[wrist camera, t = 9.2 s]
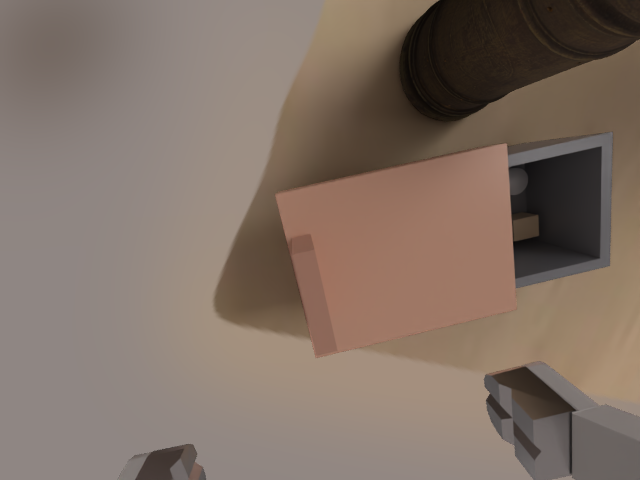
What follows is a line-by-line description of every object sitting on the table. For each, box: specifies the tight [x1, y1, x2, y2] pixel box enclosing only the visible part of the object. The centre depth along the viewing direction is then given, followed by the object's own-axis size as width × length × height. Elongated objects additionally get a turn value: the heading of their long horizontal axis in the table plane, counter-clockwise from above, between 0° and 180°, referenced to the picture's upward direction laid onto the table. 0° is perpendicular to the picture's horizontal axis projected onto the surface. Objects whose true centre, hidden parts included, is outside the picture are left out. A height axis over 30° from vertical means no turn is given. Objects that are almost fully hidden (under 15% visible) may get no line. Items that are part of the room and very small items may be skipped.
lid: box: [275, 143, 517, 358], centre depth 19 cm, size 15×12×6 cm
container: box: [400, 0, 640, 121], centre depth 17 cm, size 9×9×18 cm
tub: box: [507, 132, 613, 288], centre depth 25 cm, size 14×10×8 cm
